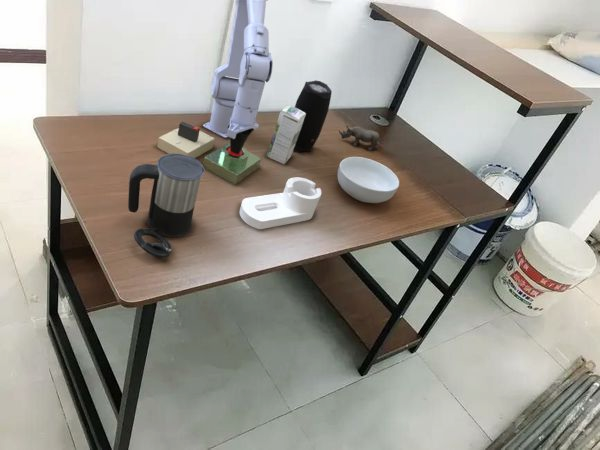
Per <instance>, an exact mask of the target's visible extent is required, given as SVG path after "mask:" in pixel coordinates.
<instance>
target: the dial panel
mask: <svg viewBox="0 0 600 450" xmlns="http://www.w3.org/2000/svg"><path fill="white" fill-rule="evenodd" d="M178 130H179V127H178V128H176V129H172V130H171V131H169V132H167V133H165V134H163V135H160V136H159V137H158V139H157V140H158V141H157V148H158V149H160V150H161V151H163V152H165V153H167V154H183V155H187V156H190V157H192V158H194V159H196V158H197V157H200V156H201V155H203V154H205V153H206V152H208V151H210V150H212V149H213V148H214V144H215V140H216V137H213V136H211V135H209V134H207V133H205V132H203V131H202V130H200V131H199V136H198V140H197V141H196V142H193V141H190V140H188V139H186V138H183V137H181V136H178Z"/></svg>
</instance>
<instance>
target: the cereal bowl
mask: <svg viewBox="0 0 600 450" xmlns="http://www.w3.org/2000/svg"><path fill="white" fill-rule="evenodd" d="M337 181H338V184H339V186H340V187H341V189H342V190H343V191H344V192H345V193H346V194H348V195H349V196H351V197H352V198H354V199H355V200H356V201H358V202H362V203H369V204H379V203H380V204H381V203H384V202H387V201H388V200H391V199H392V197H394V196H395V194H396V193H397V191H398V188H399V186H400V179H399V178H398V176H397V175H396V173H394V171H392V170H391V169H390V168H389V167H387V166H386V165H384V164H382V163H380V162H379V161H376V160H373V159H372V158H368V157H362V156H348V157H345V158H344V159H342V160H341V161H340V162H339V165H338V169H337Z"/></svg>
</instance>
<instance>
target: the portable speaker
mask: <svg viewBox="0 0 600 450" xmlns="http://www.w3.org/2000/svg"><path fill="white" fill-rule="evenodd" d="M331 99H332V89H331V88H330V87H329V86H328V84H327V83H325V82H323V81H320V80H317V79H316V80H310V81H305V82H304V85H303V87H302V89H301V91H300V93H299V95H298V96H297V99H296V102H295V105H294V107H295V108H297V109H299V110H301V111H303V112H305V113H306V115H305V118H304V121H303V124H302V127H301V130H300V133H299V136H298V138H297V141H296V144H295V147H294V150H293V152H294V151H295V152H297V153H301V152H303V151H308V152H311V151H312V149H313V148H314V146H315V144H316V142H317V141H318V138H319V137H320V134H321V132H322V130H323V127H324V124H325V121H326V119H327V115H328V113H329V110H330V103H331Z"/></svg>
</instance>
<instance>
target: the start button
mask: <svg viewBox="0 0 600 450" xmlns="http://www.w3.org/2000/svg"><path fill="white" fill-rule="evenodd" d="M227 152H228V153H229V154H231V155H234V156H242V155H243V152H242V151H240V152H239V153H238V154H236V153H234V152H231V149H230V148H228V149H227Z"/></svg>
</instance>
